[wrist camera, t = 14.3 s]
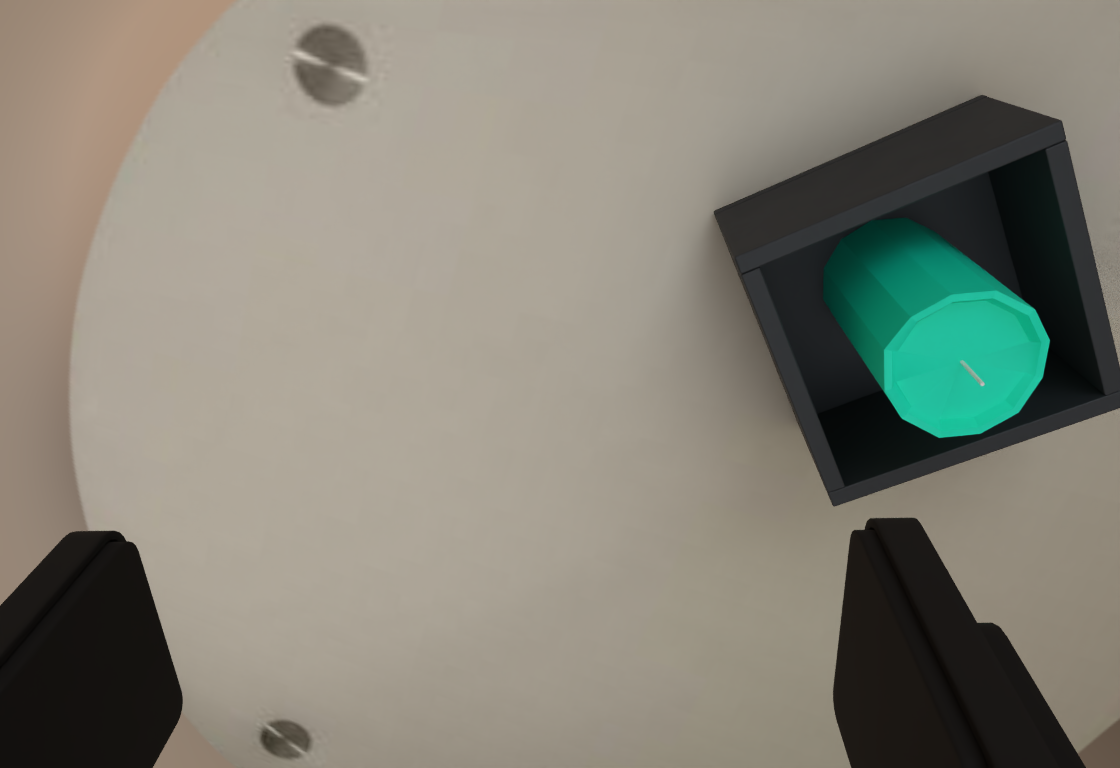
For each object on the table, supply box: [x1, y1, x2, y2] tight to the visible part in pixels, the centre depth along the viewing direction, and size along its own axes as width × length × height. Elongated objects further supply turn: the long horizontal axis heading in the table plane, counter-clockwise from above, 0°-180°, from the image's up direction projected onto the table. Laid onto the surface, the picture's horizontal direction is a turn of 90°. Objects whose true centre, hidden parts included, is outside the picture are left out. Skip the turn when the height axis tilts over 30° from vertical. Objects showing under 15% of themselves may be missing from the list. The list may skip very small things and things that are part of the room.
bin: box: [714, 95, 1120, 506], centre depth 39 cm, size 13×13×8 cm
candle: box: [823, 218, 1050, 438], centre depth 37 cm, size 6×6×12 cm
